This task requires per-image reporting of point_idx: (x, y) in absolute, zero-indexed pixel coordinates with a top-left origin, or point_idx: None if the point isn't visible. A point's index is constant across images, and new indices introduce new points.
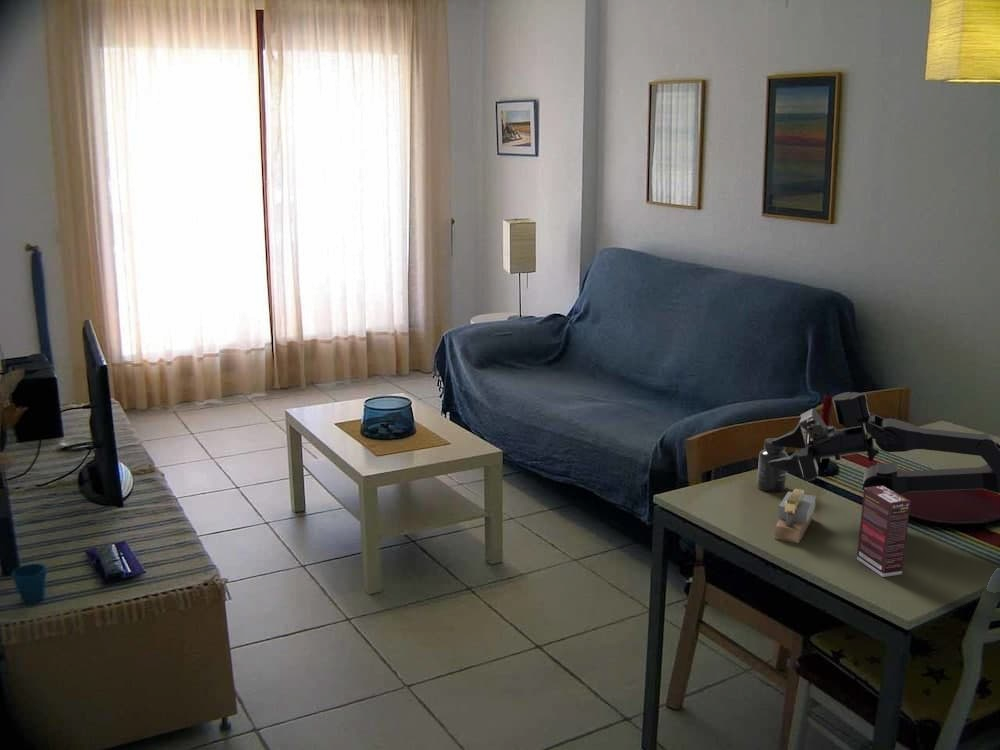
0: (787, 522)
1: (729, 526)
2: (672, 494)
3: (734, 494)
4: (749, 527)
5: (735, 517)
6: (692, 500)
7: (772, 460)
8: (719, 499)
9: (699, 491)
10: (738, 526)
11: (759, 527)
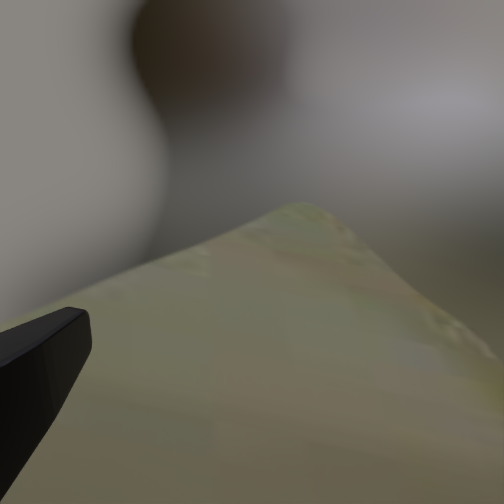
0: None
1: None
2: (338, 227)
3: (400, 419)
4: None
5: (152, 371)
6: (302, 266)
7: (52, 324)
8: (331, 350)
9: (387, 301)
10: None
11: None
